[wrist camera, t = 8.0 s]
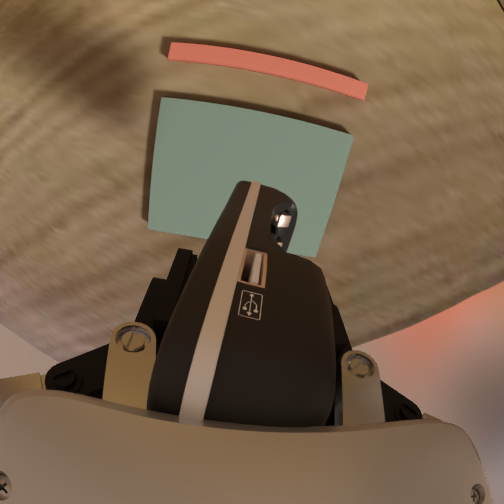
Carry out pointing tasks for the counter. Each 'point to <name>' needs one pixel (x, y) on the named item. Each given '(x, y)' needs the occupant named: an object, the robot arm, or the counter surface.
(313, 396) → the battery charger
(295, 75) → the bar
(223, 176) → the mat
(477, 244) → the counter surface
